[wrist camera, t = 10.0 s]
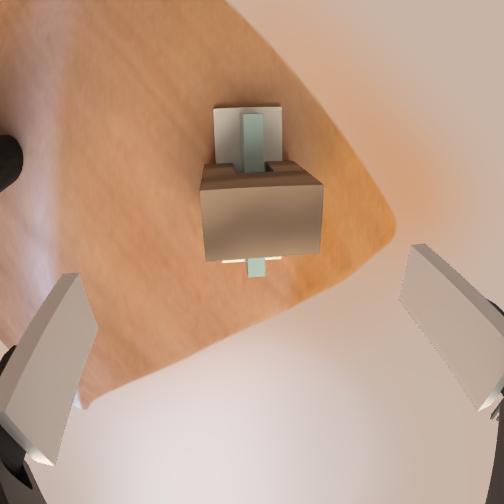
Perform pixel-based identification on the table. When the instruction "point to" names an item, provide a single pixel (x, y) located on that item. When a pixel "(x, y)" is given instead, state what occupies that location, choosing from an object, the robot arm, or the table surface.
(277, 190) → the brown notched block
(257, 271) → the inverted t-shaped bar
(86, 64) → the table surface
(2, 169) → the cup
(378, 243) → the table surface
